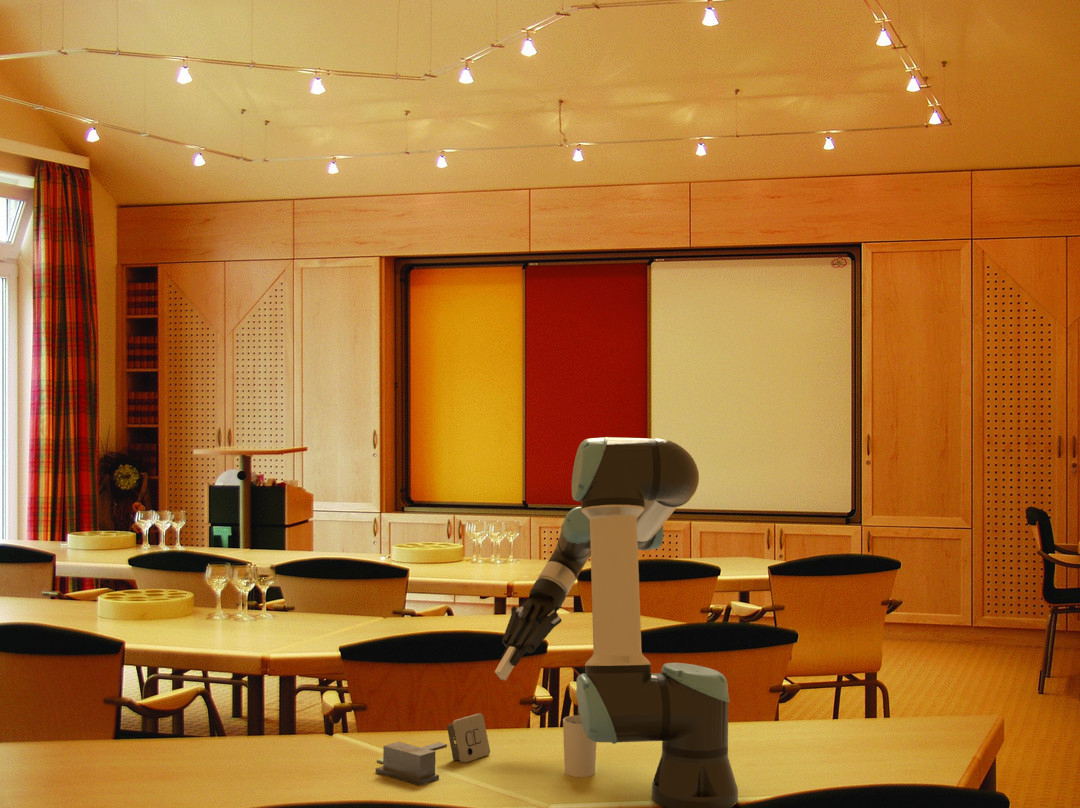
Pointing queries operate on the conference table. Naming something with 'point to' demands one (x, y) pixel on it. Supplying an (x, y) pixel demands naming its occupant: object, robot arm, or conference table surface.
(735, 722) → the conference table surface
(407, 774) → the block
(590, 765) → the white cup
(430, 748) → the green and grey strip
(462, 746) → the electrical switch
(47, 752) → the conference table surface
